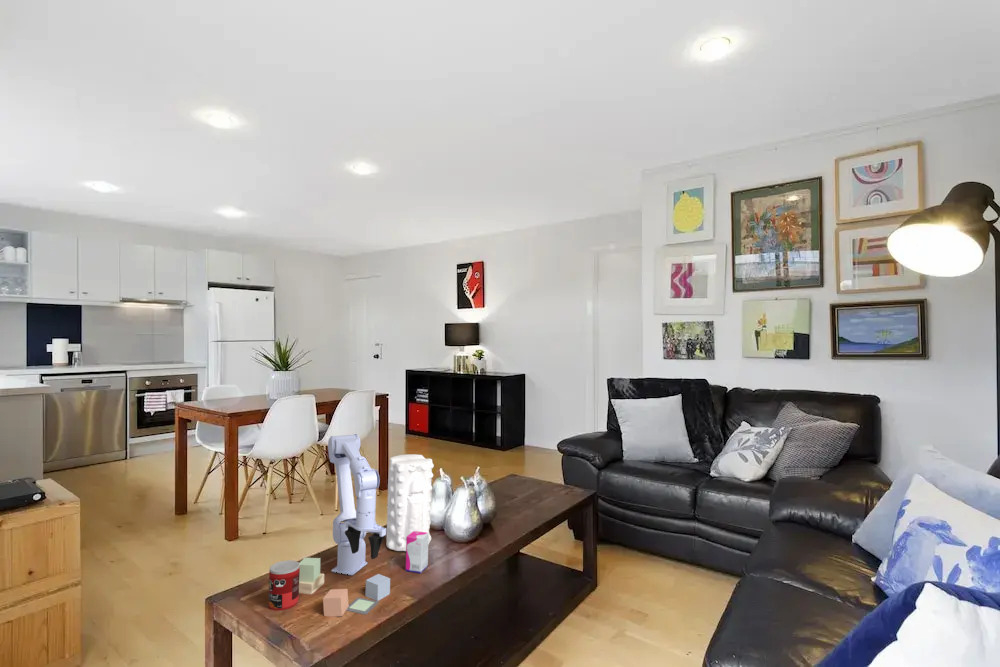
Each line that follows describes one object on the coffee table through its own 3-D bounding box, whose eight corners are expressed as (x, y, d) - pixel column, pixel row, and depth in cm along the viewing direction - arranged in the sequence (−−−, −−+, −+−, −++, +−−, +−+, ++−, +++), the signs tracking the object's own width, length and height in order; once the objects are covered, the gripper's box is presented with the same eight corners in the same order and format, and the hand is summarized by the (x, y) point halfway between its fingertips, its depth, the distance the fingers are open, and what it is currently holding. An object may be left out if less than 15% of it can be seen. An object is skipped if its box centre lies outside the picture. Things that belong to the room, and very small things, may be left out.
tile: (357, 598, 149) (357, 596, 149) (379, 602, 147) (379, 601, 147) (343, 610, 142) (344, 608, 142) (365, 615, 140) (365, 613, 140)
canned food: (264, 604, 145) (265, 565, 145) (292, 594, 150) (293, 557, 150) (274, 615, 139) (275, 574, 139) (303, 604, 145) (304, 566, 145)
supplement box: (428, 566, 171) (429, 532, 171) (421, 573, 165) (422, 538, 165) (412, 563, 173) (413, 530, 173) (404, 571, 167) (405, 536, 167)
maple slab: (303, 582, 158) (304, 571, 158) (324, 585, 157) (324, 573, 157) (290, 593, 151) (290, 581, 151) (311, 596, 150) (311, 584, 150)
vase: (420, 532, 200) (422, 451, 200) (438, 547, 186) (440, 460, 187) (378, 540, 191) (381, 456, 191) (394, 557, 177) (396, 465, 178)
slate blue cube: (377, 590, 154) (378, 573, 154) (389, 595, 151) (390, 578, 152) (365, 597, 150) (365, 580, 150) (377, 602, 147) (377, 585, 147)
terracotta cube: (331, 607, 144) (330, 589, 144) (348, 606, 143) (347, 588, 143) (324, 616, 139) (322, 598, 139) (341, 616, 138) (340, 597, 138)
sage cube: (304, 573, 157) (304, 557, 157) (320, 574, 157) (320, 558, 157) (297, 581, 152) (297, 564, 152) (313, 582, 152) (314, 565, 152)
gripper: (393, 510, 155) (391, 555, 155) (356, 502, 161) (355, 545, 161) (377, 517, 149) (376, 564, 148) (340, 509, 155) (339, 553, 155)
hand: (364, 555), depth 154 cm, fingers open, 7 cm apart
